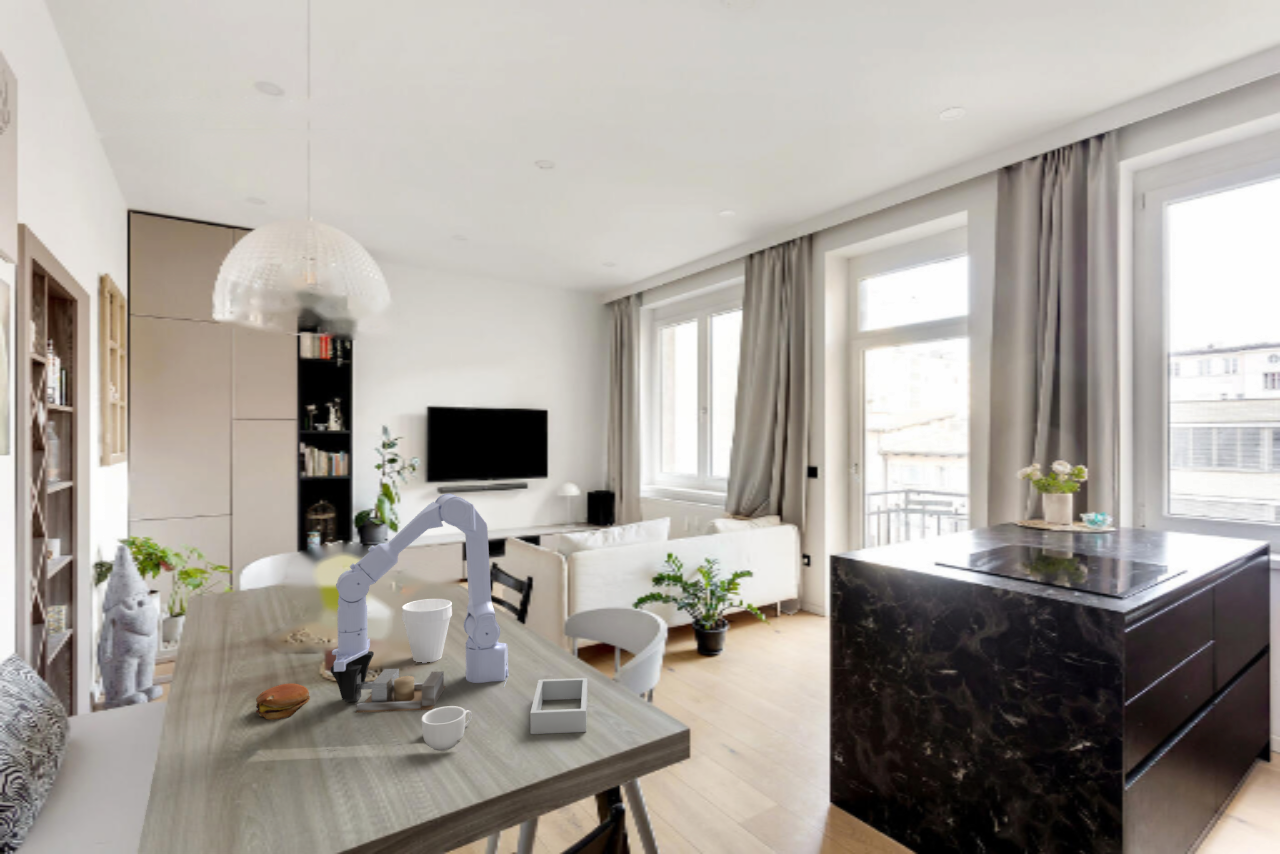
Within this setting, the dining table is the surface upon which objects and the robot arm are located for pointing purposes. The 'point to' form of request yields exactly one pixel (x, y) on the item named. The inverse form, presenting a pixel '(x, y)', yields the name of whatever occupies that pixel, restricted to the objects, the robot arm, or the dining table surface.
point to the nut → (404, 688)
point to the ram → (378, 686)
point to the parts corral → (564, 717)
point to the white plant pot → (427, 627)
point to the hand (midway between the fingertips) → (353, 693)
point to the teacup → (444, 726)
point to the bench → (423, 700)
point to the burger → (281, 701)
